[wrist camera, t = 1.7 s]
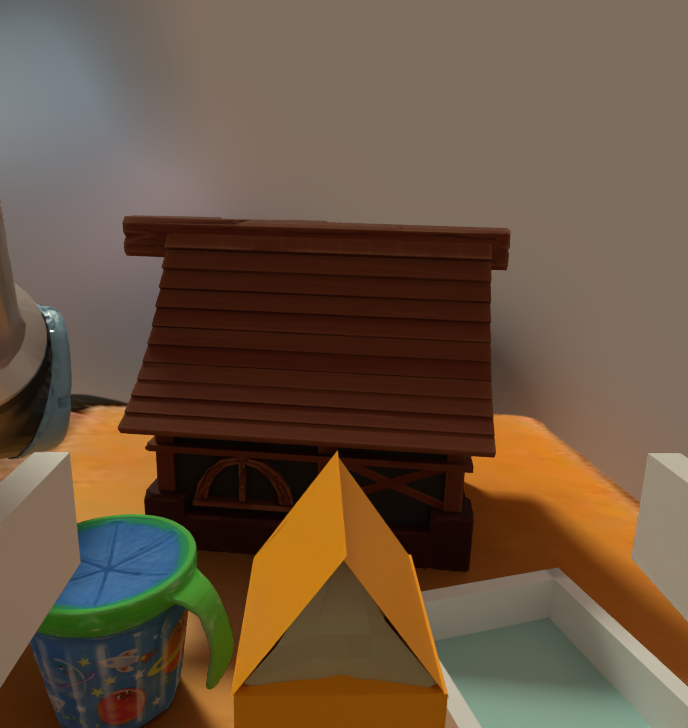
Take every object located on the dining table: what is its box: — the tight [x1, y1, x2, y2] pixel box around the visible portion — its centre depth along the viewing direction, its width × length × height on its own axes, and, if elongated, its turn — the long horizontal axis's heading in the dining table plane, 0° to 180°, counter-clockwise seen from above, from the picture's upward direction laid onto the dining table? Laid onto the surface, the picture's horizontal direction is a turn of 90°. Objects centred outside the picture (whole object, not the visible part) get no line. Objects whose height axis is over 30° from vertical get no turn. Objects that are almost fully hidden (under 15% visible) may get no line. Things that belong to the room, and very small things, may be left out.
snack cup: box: [29, 514, 234, 728], centre depth 38 cm, size 16×10×10 cm
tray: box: [421, 567, 688, 728], centre depth 39 cm, size 14×14×4 cm
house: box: [118, 215, 511, 572], centre depth 60 cm, size 35×28×29 cm
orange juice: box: [230, 451, 449, 728], centre depth 27 cm, size 8×9×20 cm
